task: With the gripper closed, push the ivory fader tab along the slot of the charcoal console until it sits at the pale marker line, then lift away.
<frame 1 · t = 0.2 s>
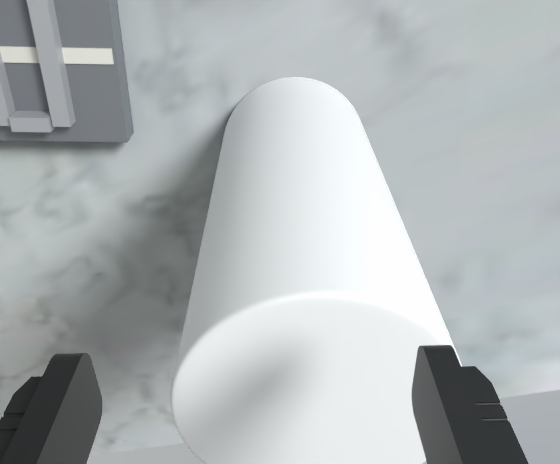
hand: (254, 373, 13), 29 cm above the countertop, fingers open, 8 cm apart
tall pillar cylinder: (293, 146, 41), on the countertop
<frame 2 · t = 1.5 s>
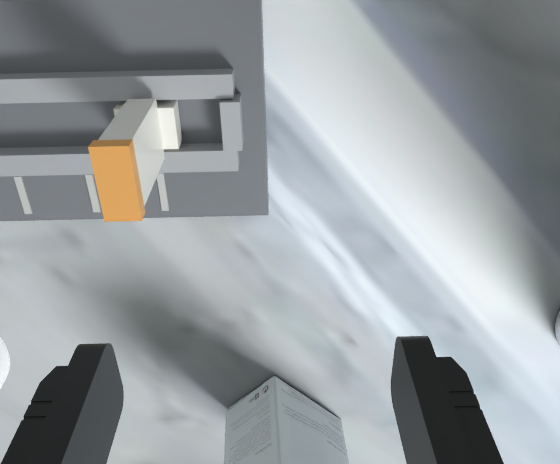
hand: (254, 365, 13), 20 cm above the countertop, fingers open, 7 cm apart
skincare box: (287, 412, 44), on the countertop
console: (52, 109, 30), on the countertop
fader tab: (136, 148, 25), point 6 cm above the countertop, slide at -6.0 cm
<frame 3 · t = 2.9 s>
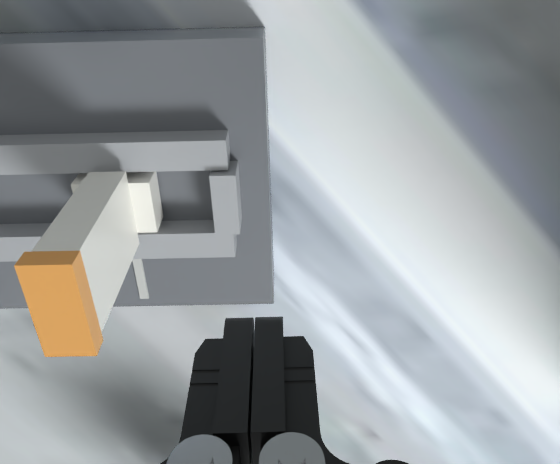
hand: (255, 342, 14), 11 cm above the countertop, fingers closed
console: (2, 174, 24), on the countertop
fader tab: (96, 243, 19), point 6 cm above the countertop, slide at -6.0 cm
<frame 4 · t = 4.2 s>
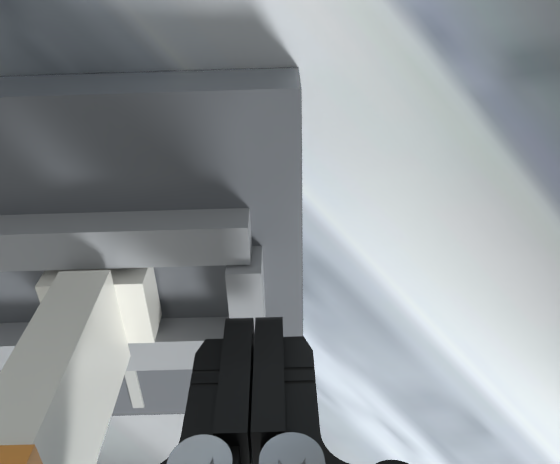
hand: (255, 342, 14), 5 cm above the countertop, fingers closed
fader tab: (68, 381, 13), point 6 cm above the countertop, slide at -6.0 cm
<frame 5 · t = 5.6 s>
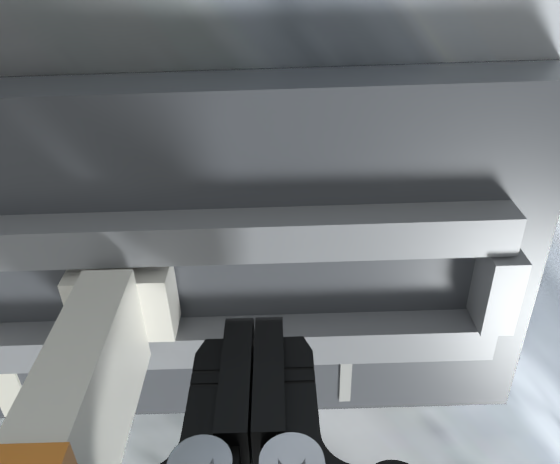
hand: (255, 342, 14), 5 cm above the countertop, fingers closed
console: (168, 248, 18), on the countertop
fader tab: (93, 380, 13), point 6 cm above the countertop, slide at 0.9 cm, touching hand
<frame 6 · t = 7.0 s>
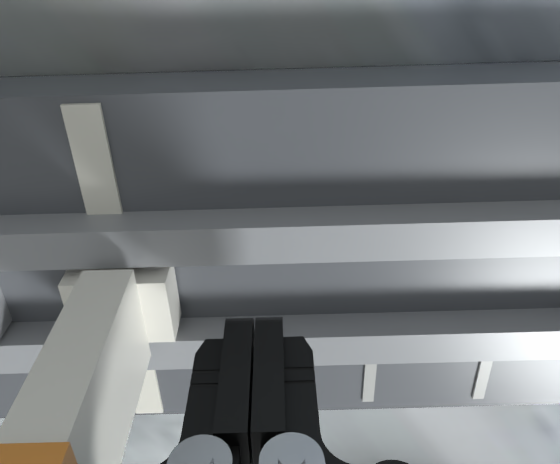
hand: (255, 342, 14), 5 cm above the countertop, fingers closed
console: (310, 244, 18), on the countertop
fader tab: (93, 380, 13), point 6 cm above the countertop, slide at 5.7 cm, touching hand
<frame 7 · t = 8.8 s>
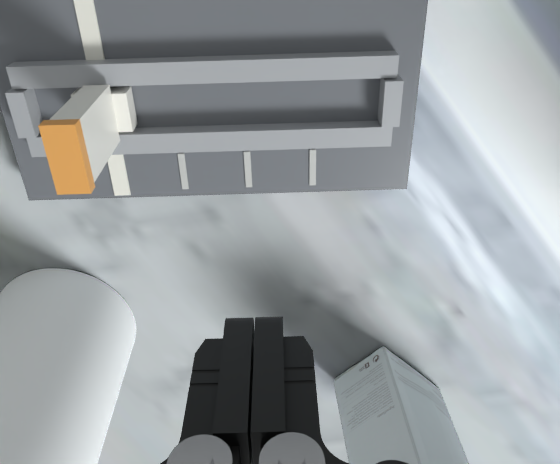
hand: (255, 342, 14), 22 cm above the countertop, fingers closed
skincare box: (389, 382, 47), on the countertop
tall pillar cylinder: (68, 321, 42), on the countertop
console: (212, 91, 33), on the countertop
fader tab: (89, 130, 28), point 6 cm above the countertop, slide at 5.8 cm
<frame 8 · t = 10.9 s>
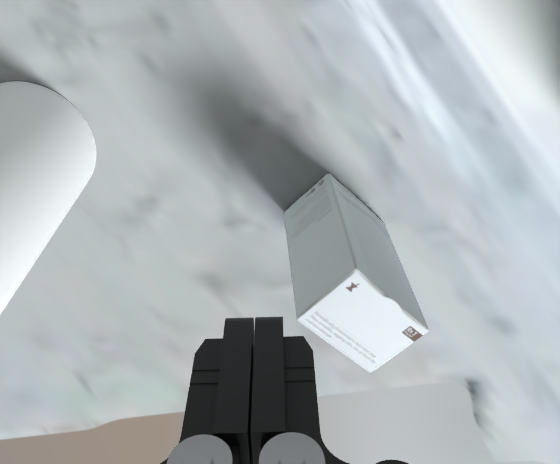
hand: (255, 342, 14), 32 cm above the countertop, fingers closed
skincare box: (337, 216, 49), on the countertop
tall pillar cylinder: (32, 143, 45), on the countertop
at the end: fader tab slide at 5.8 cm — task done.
